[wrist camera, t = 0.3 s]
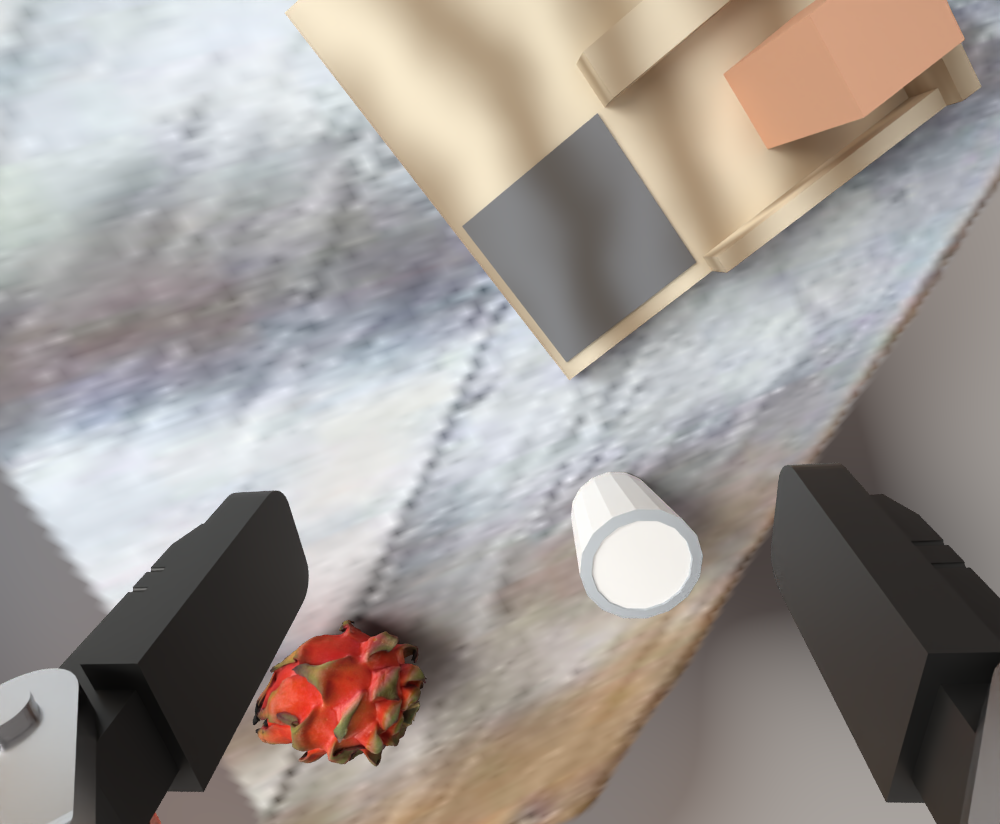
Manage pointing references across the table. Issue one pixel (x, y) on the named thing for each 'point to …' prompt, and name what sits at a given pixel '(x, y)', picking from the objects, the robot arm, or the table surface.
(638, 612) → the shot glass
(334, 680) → the dragon fruit
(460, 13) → the wooden divided tray
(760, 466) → the table surface
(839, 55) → the terracotta block
